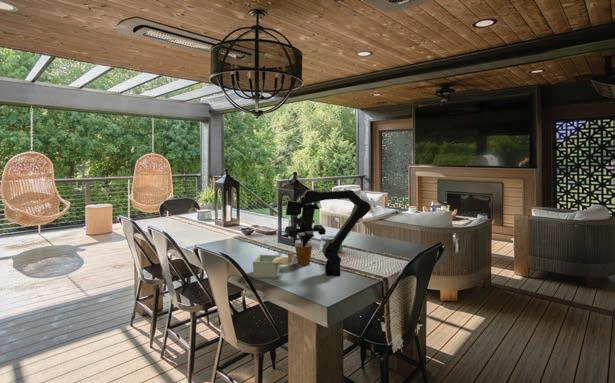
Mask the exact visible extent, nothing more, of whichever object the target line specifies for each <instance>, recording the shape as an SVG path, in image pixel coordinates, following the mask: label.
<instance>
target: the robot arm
mask: <svg viewBox="0 0 615 383" xmlns="http://www.w3.org/2000/svg"><path fill="white" fill-rule="evenodd" d="M344 199H347V200H349V201H350V202H351V203H352V204H353V207H352V209H351V213H350V215H349V217H348V218H347V219H346V220H345V222H344V223H343V225H342V226H341V228H340V229H339V230H338V231H337V233H336V234H335V236H334V237H333V238H332V239H326V242H325V243H323V245H322V249H321V252H322V254H323V256H324V257H325V259H326V263H325V265H324V266H325V267H324V268H325V270H324V271H325V275H326V276H333V277H335V276H337V277H340V276H341V273H342V272H341V262H342V258H341V256H340V255H339V251H340V249H341V245H342V243H343V242H344V241H345V239H346V238H347V237H348V236H349V234H350V233H351V231H352V230H353V228H354V227H355V226H356V224H357V223H358V222H359V220H361V219H362V218H364V217H365V216H366V215H367V214H368V213H369V212H370V210H371V204H370V203H369V201H366V200H364V199H362V198H361V197H360V196H359V195H357V193H355V191H353V190H352V189H344V190H329V191H328V190H325V191H322V190H317V189H316V190H315V189H307V190H305V191H304V193H303V195H302V197H301V198H300V199H299V200H298V201H297V200H296V201H294V200H290V199H289V200H287V201H286V202H287V203H286V207H285V216H292V218H291V222H292V224H295V225H296V226H297V227H298V228H296V227H295V226H293V225H288V226H286V227H285V228H284V232H285V234H286V235H287V236H288V237H289V238H292V237H293V238H296V237H297V236H298V237H299V239H301V244H302V247H305V245H306V244H307V243H308V241H309V240H312V238H313V237H315V235H314V233H315V232H317V234H319V236H322V235H323V236H324V235H326V232H327V231H326V228H325V226H323V225H322V224H314V223H315V220H314V218H315V217H314V216H315V211H316V210H320V205H318V203H319V202H321V201H326V200H327V201H328V200H331V201H332V200H344ZM299 215H301V216H299Z"/></svg>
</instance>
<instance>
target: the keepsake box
mask: <svg viewBox="0 0 615 383" xmlns="http://www.w3.org/2000/svg"><path fill="white" fill-rule="evenodd" d="M275 257H281V255H280V254H259V255H258V256H257V257H256V258H255V259H254V260H253V261H252V268H253V269H252V274H253V275H252V278H253V279H271V280H275V279H276V278H277V276H278V275H279V273H280V271H281V265H277V264H275V262H272V261H273V260H274V258H275Z"/></svg>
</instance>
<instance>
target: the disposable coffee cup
mask: <svg viewBox="0 0 615 383" xmlns="http://www.w3.org/2000/svg"><path fill="white" fill-rule="evenodd" d="M294 241H295V242H294V247H295V254H296V262H297V265H298V266H300V267H304V266H307V267H308V266H310V265H311V258H312V257H311V256H312V251H313V250H312V247H313V244H314V243H313V240H312V239H310V240H309V241H308V243H307V244H306V245H305V247H302V244H301V239H300V238H299V239H296V240H294Z"/></svg>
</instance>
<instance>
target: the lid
mask: <svg viewBox="0 0 615 383" xmlns="http://www.w3.org/2000/svg"><path fill="white" fill-rule="evenodd" d="M293 260H294V251H292V250H291V251H289V253H288V255H287V256H283V257H282V256H280V257H275V258H274V260H273V261H272V262H275V264H277V265H280V266H282V265H283V266H291V264H292V263H293Z"/></svg>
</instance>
